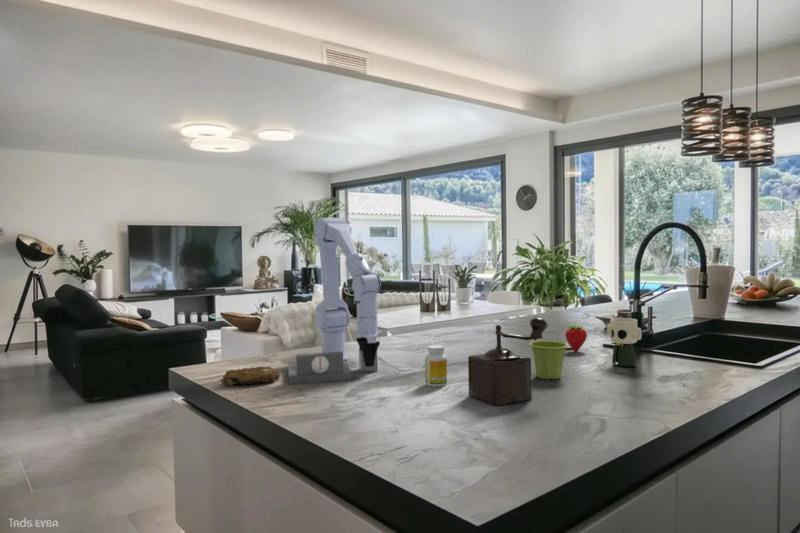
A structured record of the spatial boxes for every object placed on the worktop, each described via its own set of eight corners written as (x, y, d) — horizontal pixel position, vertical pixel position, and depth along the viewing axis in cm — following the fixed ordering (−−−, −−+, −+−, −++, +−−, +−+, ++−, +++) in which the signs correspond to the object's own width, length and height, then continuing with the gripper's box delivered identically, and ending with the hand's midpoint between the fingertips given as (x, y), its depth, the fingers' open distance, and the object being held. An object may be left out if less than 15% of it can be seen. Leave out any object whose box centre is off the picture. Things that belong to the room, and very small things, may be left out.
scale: (288, 369, 157) (287, 345, 157) (344, 365, 160) (343, 341, 160) (289, 384, 140) (288, 357, 139) (351, 379, 143) (350, 353, 143)
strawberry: (591, 351, 174) (591, 320, 173) (576, 354, 169) (575, 322, 169) (576, 348, 178) (576, 318, 178) (561, 351, 174) (560, 320, 174)
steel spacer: (359, 369, 156) (358, 348, 155) (374, 367, 157) (374, 347, 156) (361, 372, 151) (361, 351, 151) (377, 371, 152) (377, 350, 152)
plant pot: (574, 376, 142) (573, 343, 141) (557, 383, 135) (556, 348, 135) (541, 371, 148) (540, 339, 148) (523, 377, 141) (523, 344, 141)
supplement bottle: (421, 384, 137) (420, 346, 136) (436, 380, 140) (436, 343, 140) (436, 388, 133) (435, 349, 132) (451, 384, 136) (451, 346, 136)
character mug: (599, 363, 156) (599, 318, 155) (615, 360, 159) (615, 316, 159) (632, 370, 146) (632, 322, 146) (649, 367, 150) (649, 320, 149)
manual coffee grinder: (497, 408, 116) (496, 323, 115) (467, 396, 126) (466, 318, 125) (552, 397, 123) (551, 317, 123) (519, 386, 133) (518, 313, 132)
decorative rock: (231, 394, 134) (286, 385, 143) (231, 377, 134) (286, 369, 143) (213, 383, 143) (266, 375, 152) (214, 367, 142) (267, 361, 152)
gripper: (385, 319, 147) (386, 368, 148) (376, 312, 161) (377, 358, 162) (359, 320, 146) (361, 370, 146) (353, 314, 160) (354, 360, 160)
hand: (368, 364), depth 154 cm, fingers closed on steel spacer, 4 cm apart
